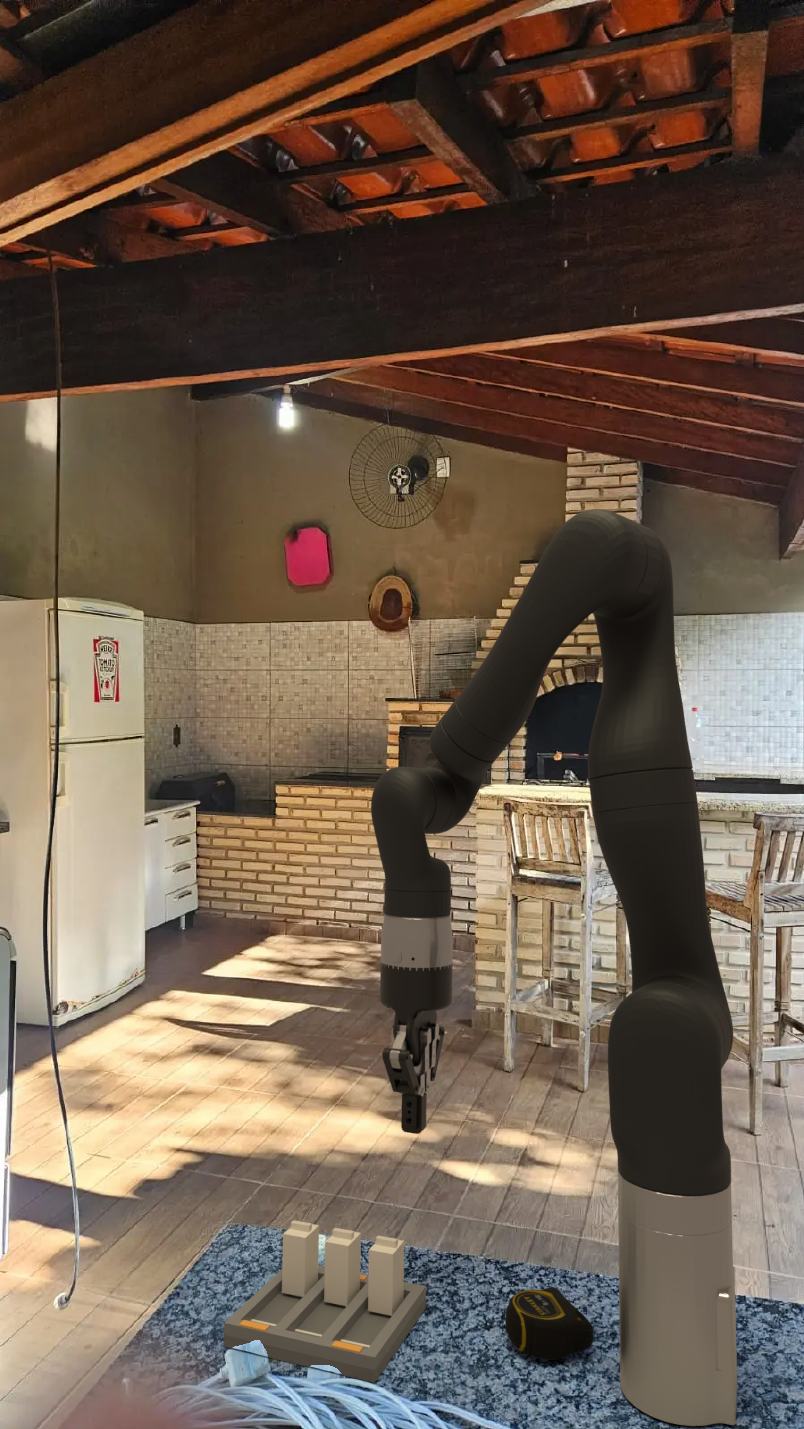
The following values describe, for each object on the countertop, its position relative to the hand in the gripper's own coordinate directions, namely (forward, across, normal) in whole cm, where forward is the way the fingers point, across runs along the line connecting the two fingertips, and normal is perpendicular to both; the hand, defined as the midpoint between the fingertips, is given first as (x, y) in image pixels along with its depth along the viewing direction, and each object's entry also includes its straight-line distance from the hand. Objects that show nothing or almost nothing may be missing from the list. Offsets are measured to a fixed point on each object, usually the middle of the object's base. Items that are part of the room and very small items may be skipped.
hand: (413, 1130), depth 98 cm
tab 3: (+14, -7, +9) cm, 18 cm away
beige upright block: (+14, -7, +4) cm, 16 cm away
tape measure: (+15, -6, -15) cm, 22 cm away
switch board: (+15, -10, +4) cm, 19 cm away
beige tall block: (+14, -8, 0) cm, 16 cm away
